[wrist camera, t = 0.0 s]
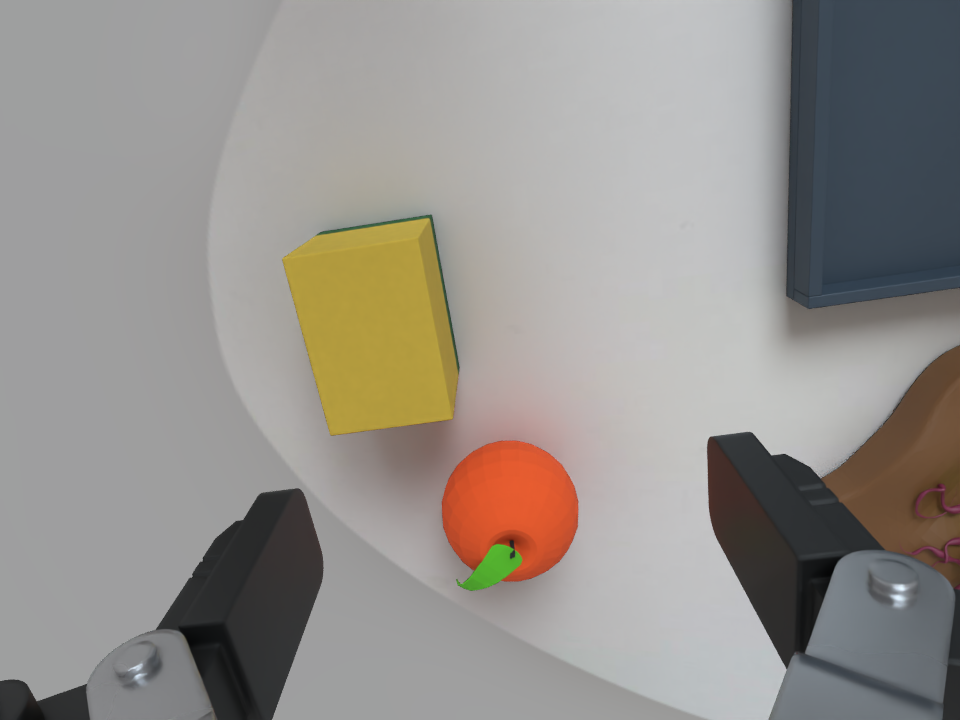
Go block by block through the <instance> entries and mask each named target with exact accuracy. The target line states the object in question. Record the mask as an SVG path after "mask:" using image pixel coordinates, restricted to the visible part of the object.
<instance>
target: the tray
mask: <svg viewBox="0 0 960 720" xmlns="http://www.w3.org/2000/svg"><path fill="white" fill-rule="evenodd" d="M954 288H960V0H793V31H792V75H791V120H790V165H789V210H788V255H787V297H789V298H791V299H792V300H795V301H796V302H798V303H799V304H801V305H803V306H804V307H806V308H808V309H812V308H819V307H826V306H833V305H840V304H848V303H855V302H862V301H869V300H876V299H883V298H890V297H897V296H905V295H912V294H919V293H926V292H933V291H940V290H947V289H954Z"/></svg>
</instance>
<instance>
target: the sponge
mask: <svg viewBox="0 0 960 720" xmlns="http://www.w3.org/2000/svg"><path fill="white" fill-rule="evenodd" d="M282 261H283V264H284V268H285V272H286V275H287V279H288V283H289V286H290V290H291V293H292V297H293V301H294V304H295V308H296V312H297V315H298V319H299V323H300V326H301V330H302V334H303V337H304V341H305V345H306V348H307V352H308V356H309V359H310V363H311V367H312V370H313V374H314V377H315V381H316V385H317V388H318V392H319V396H320V399H321V403H322V407H323V410H324V414H325V418H326V421H327V425H328V429H329V432H330V435H331V436H333V435H340V434H348V433H355V432H363V431H370V430H378V429H385V428H393V427H400V426H408V425H415V424H423V423H430V422H438V421H445V420H452V419H453V414H454V406H455V398H456V390H457V382H458V375H459V368H460V367H459V362H458V356H457V351H456V345H455V340H454V334H453V329H452V323H451V318H450V312H449V307H448V301H447V296H446V290H445V285H444V279H443V274H442V268H441V263H440V257H439V252H438V246H437V241H436V235H435V230H434V224H433V219H432V215H426V216H420V217H413V218H407V219H400V220H394V221H388V222H381V223H375V224H369V225H362V226H356V227H350V228H343V229H337V230H331V231H324V232H320V233H319V234H317V235H316V236H315V237H313V238H312V239H310V240H309V241H307V242H306V243H304V244H303V245H301V246H300V247H298V248H297V249H295V250H294V251H293V252H291V253H290V254H288V255H287V256H285V257H284V258H282Z"/></svg>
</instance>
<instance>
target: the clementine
mask: <svg viewBox="0 0 960 720" xmlns="http://www.w3.org/2000/svg"><path fill="white" fill-rule="evenodd" d="M442 517H443V528H444V530H445V533H446V536H447V539H448V541H449V543H450V545H451V546H452V548H453V550H454V551H455V552H456V554H457V555H458V556H459V558H460V559H461V560H462V562H464V563H465V564H466V565H467V566H469V567H470V568H471V569H472V570H474V572H473V574H472V575H471V576H470V577H469V578H468V579H467V580H466V581H465V582H464V583H463V584H460V582H459V581H458V580H457V579H456V580H457V584H458V586H460V587H462V588H464V589H467V590H470V591H474V590H480V589H484V588H487V587H490V586H492V585H494V584H496V583H498V582H499V581H522V580H527V579H531V578H533V577H535V576H538V575H540V574H542V573H544V572H546V571H548V570H549V569H550V568H552V567H553V566H554V565H555V564H557V563H558V562H559V561H560V560H561V559H562V557H563V556H564V555H565V553H566V552H567V550H568V549H569V547H570V545H571V543H572V541H573V538H574V535H575V533H576V530H577V527H578V499H577V495H576V491H575V488H574V485H573V483H572V481H571V479H570V477H569V475H568V474H567V472H566V471H565V469H564V468H563V466H562V465H561V464H560V463H559V462H558V461H557V460H556V459H555V458H554V457H552V456H551V455H550V454H549V453H547V452H546V451H544V450H542V449H540V448H538V447H536V446H534V445H532V444H529V443H524V442H520V441H499V442H495V443H491V444H487V445H485V446H483V447H481V448H479V449H477V450H475V451H473V452H472V453H471V454H469V455H468V456H467V457H466V458H465V459H464V460H463V461H462V462H460V463H459V464H458V465H457V466H456V468H455V470H454V471H453V473H452V474H451V476H450V478H449V480H448V483H447V485H446V488H445V492H444V496H443V499H442Z"/></svg>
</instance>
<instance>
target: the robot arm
mask: <svg viewBox="0 0 960 720" xmlns="http://www.w3.org/2000/svg"><path fill="white" fill-rule="evenodd" d="M707 459H708V495H709V512H710V518H711V523H712V527H713V530H714V533H715V535H716V538H717V540H718V542H719V544H720V546H721V547H722V549H723V551H724V553H725V555H726V557H727V559H728V561H729V562H730V564H731V566H732V568H733V570H734V572H735V574H736V576H737V577H738V579H739V581H740V583H741V585H742V587H743V589H744V590H745V592H746V594H747V596H748V598H749V600H750V602H751V604H752V605H753V607H754V609H755V611H756V613H757V615H758V617H759V618H760V620H761V622H762V624H763V626H764V628H765V630H766V632H767V633H768V635H769V637H770V639H771V641H772V643H773V645H774V647H775V648H776V650H777V652H778V654H779V656H780V658H781V660H782V661H783V663H784V665H785V667H786V669H787V671H786V674H785V676H784V679H783V682H782V685H781V687H780V690H779V693H778V695H777V698H776V701H775V704H774V706H773V709H772V712H771V714H770V717H769V720H960V590H958V589H954V588H953V587H952V586H951V584H950V583H949V581H948V580H947V579H946V578H945V577H944V576H943V575H942V574H941V573H939V572H938V571H937V570H936V569H934V568H933V567H931V566H930V565H928V564H926V563H924V562H922V561H920V560H918V559H915V558H913V557H910V556H907V555H904V554H901V553H897V552H892V551H886V550H885V549H884V548H883V547H882V546H881V545H880V543H879V542H878V541H877V540H876V539H875V538H874V537H873V536H872V535H871V534H870V532H869V531H868V530H867V529H866V528H865V527H864V526H863V525H862V524H861V523H860V521H859V520H858V519H857V518H856V517H855V516H854V515H853V514H852V513H851V512H850V510H849V509H848V508H847V507H846V506H845V505H844V504H843V503H842V502H841V503H840V502H839V498H838V497H837V496H836V495H835V494H834V493H833V492H832V491H831V490H830V489H829V488H826V484H825V483H824V482H823V481H822V480H821V479H820V478H819V476H818V475H817V474H816V473H815V472H814V471H813V470H812V469H811V468H810V467H809V466H807V465H805V464H803V463H801V462H799V461H798V460H796V459H794V458H792V457H790V456H788V455H786V454H780V455H772V456H771V455H770V453H769V452H768V451H767V450H766V449H765V447H764V446H763V445H762V444H761V443H760V441H759V440H758V439H757V438H756V436H755V435H754V434H753V433H751V432H744V433H736V434H728V435H720V436H712V437H710V438H709V440H708V444H707ZM192 575H193V577H192V578H189V580H188V581H187V583H186V584H185V586H184V587H183V589H182V591H181V592H180V594H179V595H178V597H177V598H176V600H175V601H174V603H173V604H172V606H171V607H170V609H169V610H168V612H167V613H166V615H165V617H164V618H163V620H162V621H161V623H160V624H159V626H158V627H157V629H156V630H154V631H150V632H147V633H144V634H141V635H139V636H137V637H134V638H132V639H130V640H129V641H127V642H125V643H123V644H122V645H120V646H119V647H117V648H116V649H115V650H113V651H112V652H111V653H109V654H108V655H107V656H106V657H105V658H104V659H103V660H102V661H101V662H100V663H99V664H98V665H97V667H96V668H95V670H94V671H93V672H92V674H91V676H90V678H89V680H88V683H87V684H85V685H83V686H80V687H77V688H74V689H71V690H69V691H66V692H63V693H60V694H57V695H54V696H51V697H49V698H46V699H43V700H40V701H36V699H35V698H34V696H33V694H32V693H31V691H30V689H29V687H28V686H27V684H26V683H24V682H23V681H20V680H4V681H0V720H272V718H273V715H274V712H275V710H276V707H277V704H278V701H279V698H280V696H281V693H282V690H283V688H284V685H285V682H286V679H287V676H288V674H289V671H290V668H291V666H292V663H293V660H294V657H295V655H296V652H297V649H298V646H299V643H300V641H301V638H302V635H303V633H304V630H305V627H306V624H307V621H308V619H309V616H310V613H311V610H312V608H313V605H314V602H315V600H316V597H317V594H318V591H319V589H320V586H321V583H322V578H323V556H322V551H321V548H320V544H319V541H318V538H317V534H316V531H315V528H314V524H313V521H312V518H311V515H310V511H309V508H308V505H307V501H306V499H305V496H304V494H303V492H302V491H301V490H300V489H288V490H281V491H273V492H265V493H261V494H260V495H259V496H258V497H257V499H256V500H255V502H254V503H253V505H252V507H251V508H250V510H249V511H248V513H247V515H246V516H245V518H244V520H241V521H236V522H235V523H233V524H232V525H231V526H230V527H229V528H227V529H226V530H225V531H224V532H223V533H222V534H220V535H219V536H218V537H217V538H216V539H215V540H214V542H213V543H212V545H211V546H210V548H209V549H208V551H207V552H206V554H205V556H204V557H203V562H200V563H199V565H198V566H197V567H196V569H195V571H194V572H193V574H192Z"/></svg>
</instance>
